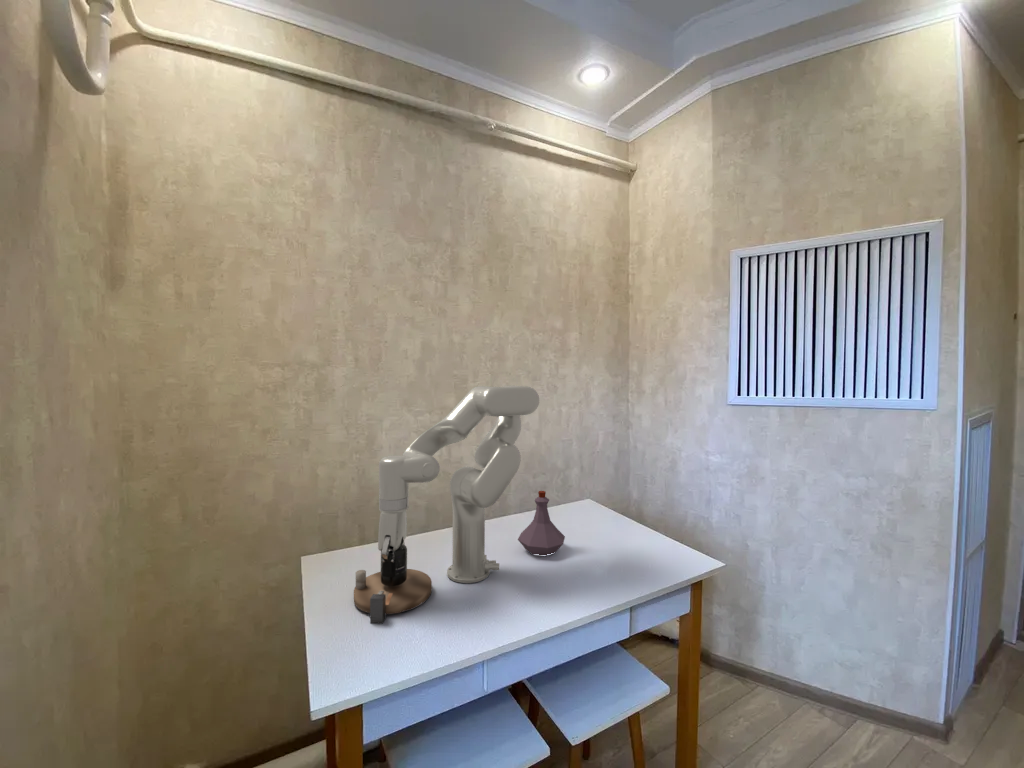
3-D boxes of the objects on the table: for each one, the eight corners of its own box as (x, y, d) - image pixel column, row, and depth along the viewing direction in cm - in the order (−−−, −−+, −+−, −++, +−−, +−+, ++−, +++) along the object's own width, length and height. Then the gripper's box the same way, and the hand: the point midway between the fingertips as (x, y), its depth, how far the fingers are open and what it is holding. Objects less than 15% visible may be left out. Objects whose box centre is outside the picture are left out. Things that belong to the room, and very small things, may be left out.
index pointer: (387, 615, 105) (387, 591, 105) (382, 623, 101) (382, 598, 101) (375, 614, 105) (375, 590, 105) (370, 623, 102) (370, 598, 101)
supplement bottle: (400, 588, 110) (399, 542, 110) (375, 585, 111) (375, 540, 111) (411, 576, 117) (411, 532, 116) (388, 573, 118) (388, 530, 118)
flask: (533, 537, 155) (534, 483, 155) (574, 548, 146) (575, 490, 146) (507, 553, 142) (507, 493, 141) (550, 566, 133) (551, 502, 132)
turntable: (406, 568, 128) (406, 549, 128) (446, 593, 114) (446, 571, 114) (340, 592, 114) (340, 570, 114) (377, 624, 100) (377, 598, 100)
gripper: (390, 493, 122) (391, 555, 123) (367, 513, 105) (367, 585, 105) (416, 494, 122) (417, 556, 122) (397, 514, 105) (397, 586, 105)
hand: (394, 569), depth 114 cm, fingers closed on supplement bottle, 6 cm apart
